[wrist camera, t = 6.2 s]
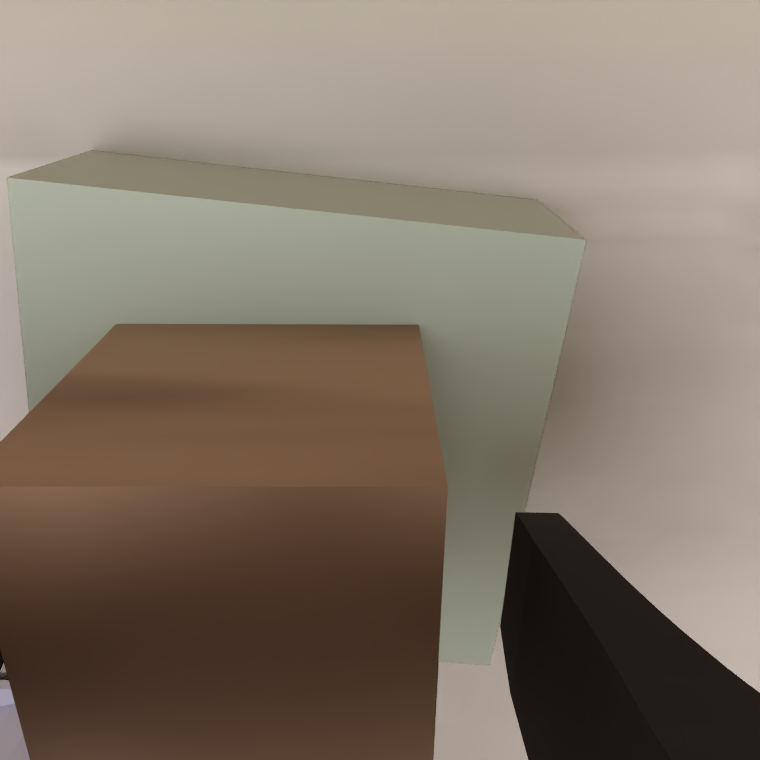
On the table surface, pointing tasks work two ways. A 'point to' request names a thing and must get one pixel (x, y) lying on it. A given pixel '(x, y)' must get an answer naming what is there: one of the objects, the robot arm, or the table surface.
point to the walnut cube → (227, 547)
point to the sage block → (323, 307)
